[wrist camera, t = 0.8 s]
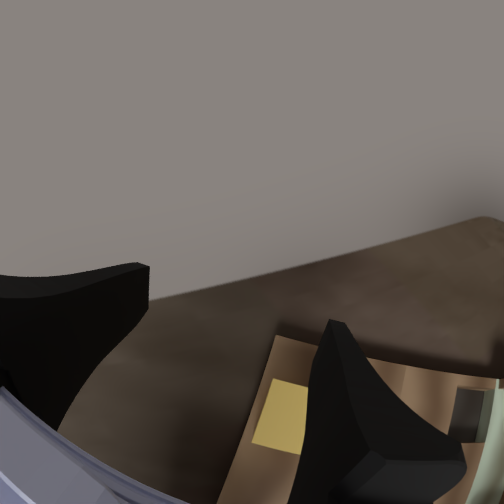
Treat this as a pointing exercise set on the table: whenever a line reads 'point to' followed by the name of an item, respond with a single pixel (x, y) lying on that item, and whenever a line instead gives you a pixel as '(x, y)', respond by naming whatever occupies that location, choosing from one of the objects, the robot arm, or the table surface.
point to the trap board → (412, 394)
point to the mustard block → (283, 417)
